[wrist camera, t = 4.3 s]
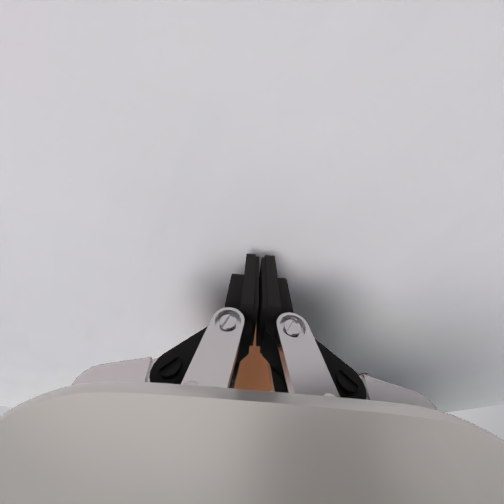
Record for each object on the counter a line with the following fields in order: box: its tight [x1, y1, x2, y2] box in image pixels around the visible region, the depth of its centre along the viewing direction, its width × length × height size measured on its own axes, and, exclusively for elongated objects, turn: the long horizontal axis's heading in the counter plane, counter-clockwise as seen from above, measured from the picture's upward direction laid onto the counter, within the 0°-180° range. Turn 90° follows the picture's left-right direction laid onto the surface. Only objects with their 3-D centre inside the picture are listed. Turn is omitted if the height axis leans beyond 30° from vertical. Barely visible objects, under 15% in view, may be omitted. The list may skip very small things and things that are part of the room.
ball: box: [235, 328, 271, 391], centre depth 14 cm, size 6×6×6 cm
